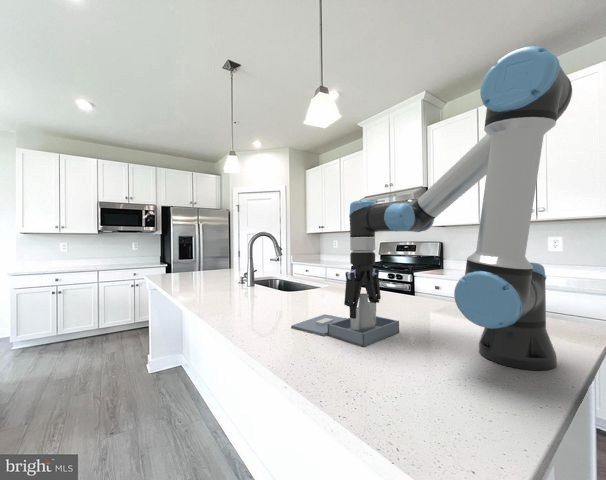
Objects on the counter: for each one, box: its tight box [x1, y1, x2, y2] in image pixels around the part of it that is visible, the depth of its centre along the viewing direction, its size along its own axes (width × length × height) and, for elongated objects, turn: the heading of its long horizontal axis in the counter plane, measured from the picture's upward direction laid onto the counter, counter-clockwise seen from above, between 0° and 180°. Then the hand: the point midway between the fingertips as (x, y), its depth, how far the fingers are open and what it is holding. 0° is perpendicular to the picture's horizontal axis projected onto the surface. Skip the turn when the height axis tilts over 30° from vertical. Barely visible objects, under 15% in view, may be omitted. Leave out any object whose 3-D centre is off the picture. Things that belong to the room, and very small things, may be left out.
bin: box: [327, 315, 400, 348], centre depth 90 cm, size 13×18×4 cm
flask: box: [357, 293, 376, 329], centre depth 90 cm, size 7×7×10 cm
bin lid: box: [290, 313, 347, 337], centre depth 100 cm, size 14×19×2 cm
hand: (363, 325), depth 90 cm, fingers closed on flask, 8 cm apart
